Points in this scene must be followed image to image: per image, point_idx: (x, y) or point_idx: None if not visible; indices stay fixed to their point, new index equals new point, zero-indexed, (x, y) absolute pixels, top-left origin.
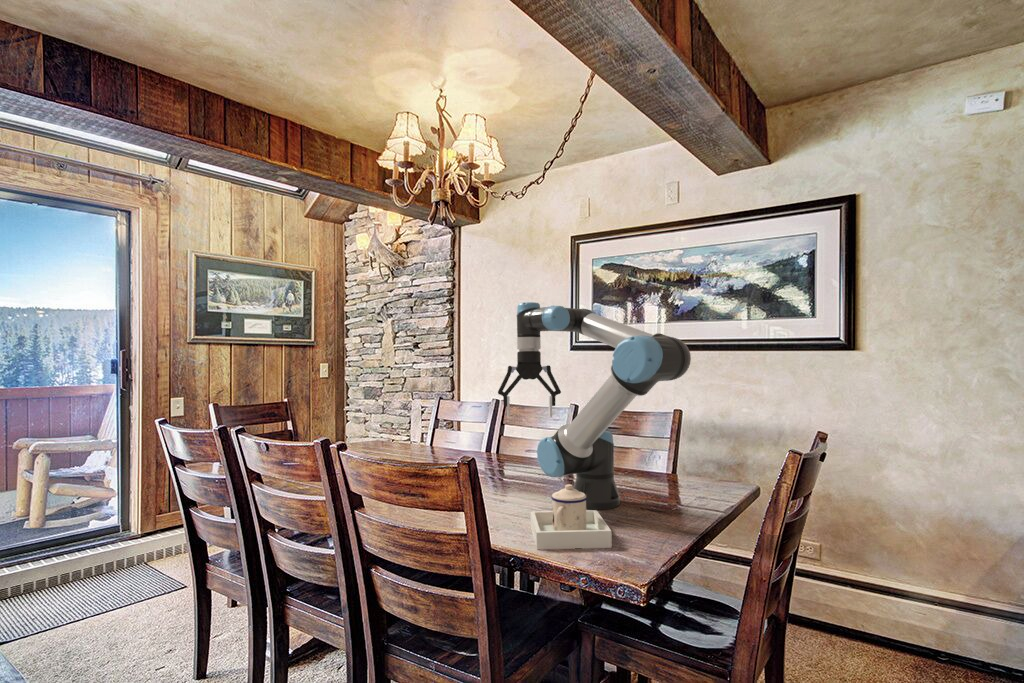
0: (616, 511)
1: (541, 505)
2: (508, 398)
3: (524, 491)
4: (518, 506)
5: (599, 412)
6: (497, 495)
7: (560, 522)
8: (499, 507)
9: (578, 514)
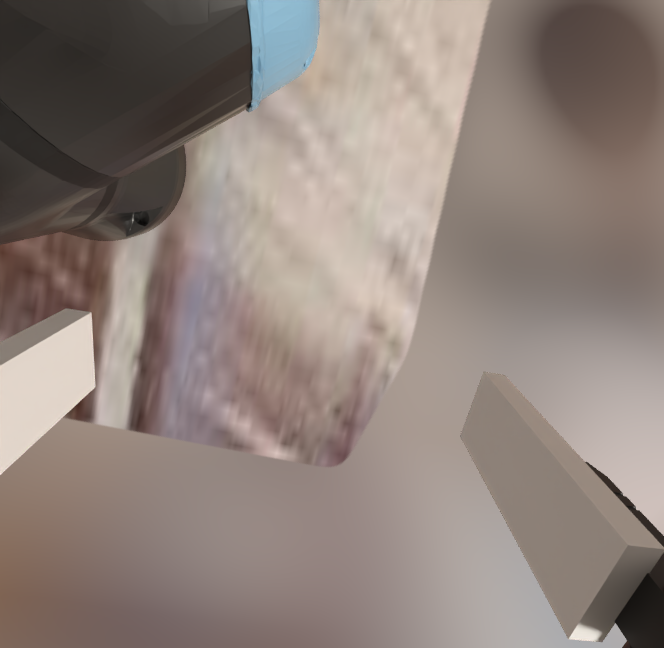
0: None
1: (289, 176)
2: (624, 521)
3: (303, 355)
4: (365, 183)
5: None
6: (394, 329)
7: None
8: (427, 187)
9: None
